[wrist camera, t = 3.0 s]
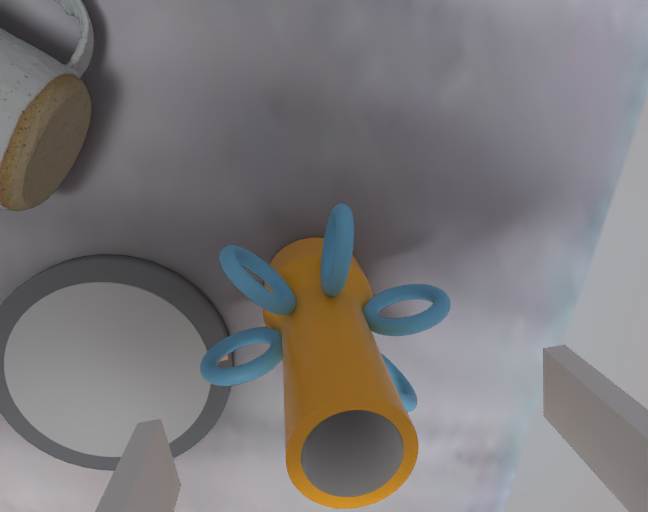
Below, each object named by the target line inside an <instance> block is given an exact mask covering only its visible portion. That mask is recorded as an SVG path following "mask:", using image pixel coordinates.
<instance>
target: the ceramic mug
mask: <svg viewBox="0 0 648 512" xmlns="http://www.w3.org/2000/svg"><path fill="white" fill-rule="evenodd" d="M55 1H56V2H57V3H59V4H60V5H61V6H62V7H63V9H64V11H65V12H66V13H67V14H69V15H72V16H75V17H77V18H78V19H79V22H80V34H81V37H80V39H79V41H78V44H77V47H76V50H75V53H74V54H73V55H72V56H71V60H70V61H69V62H68V63H67V64H61V63H60V62H58V61H57V60H56V59H54V58H53V57H51V56H49V55H48V54H46V53H44V52H43V51H41V50H39V49H37V48H35V47H33V46H32V45H30V44H28V43H26V42H25V41H23V40H21V39H19V38H17V37H15V36H13V35H12V34H10V33H8V32H6V31H5V30H3V29H1V28H0V208H3V209H7V210H14V211H19V210H26V209H29V208H32V207H35V206H37V205H39V204H41V203H42V202H44V201H45V200H46V199H48V198H49V197H50V196H51V195H52V194H53V193H54V192H55V191H56V189H57V188H58V187H59V185H60V184H61V183H62V182H63V180H64V179H65V177H66V176H67V174H68V173H69V171H70V170H71V168H72V166H73V164H74V162H75V160H76V158H77V157H78V155H79V153H80V150H81V148H82V145H83V143H84V141H85V138H86V135H87V131H88V128H89V125H90V119H91V105H92V103H91V99H90V96H89V92H88V90H87V88H86V86H85V83H84V82H83V81H82V80H81V79H80V78H81V76H82V75H83V73H84V72H85V71H86V70H87V68H88V66H89V64H90V60H91V56H92V52H93V48H94V33H93V27H92V23H91V20H90V17H89V15H88V12H87V9H86V7H85V5H84V3H83V2H82V0H55Z"/></svg>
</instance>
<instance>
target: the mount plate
mask: <svg viewBox="0 0 648 512" xmlns="http://www.w3.org/2000/svg"><path fill="white" fill-rule="evenodd" d="M228 336H229V335H228V332H227V329H226V327H225V325H224V323H223V321H222V318H221V317H220V315H219V314H218V312H217V311H216V309H215V307H214V306H213V305H212V303H211V302H210V301H209V300H208V299H207V298H206V297H205V295H204V294H203V293H202V292H201V291H199V290H198V289H197V288H196V287H195V286H194V285H193V284H192V283H190V282H189V281H187V280H186V279H184V278H183V277H181V276H180V275H178V274H177V273H175V272H173V271H171V270H169V269H167V268H165V267H163V266H160V265H158V264H155V263H152V262H150V261H146V260H142V259H138V258H135V257H128V256H121V255H92V256H83V257H79V258H75V259H71V260H67V261H64V262H62V263H59V264H56V265H54V266H52V267H50V268H48V269H46V270H44V271H42V272H40V273H39V274H37V275H36V276H34V277H33V278H31V279H29V280H28V281H27V282H25V283H24V284H23V285H21V286H20V287H19V288H17V289H16V290H15V291H14V292H13V293H12V294H11V295H10V296H9V297H8V298H7V299H6V300H5V301H4V302H3V304H2V305H1V306H0V412H1V414H2V415H3V417H4V418H5V420H6V421H7V422H8V423H9V424H10V425H11V426H12V427H13V428H14V430H15V431H16V432H17V433H19V434H20V435H21V436H22V437H23V438H24V439H26V440H27V441H28V442H29V443H31V444H32V445H34V446H35V447H37V448H38V449H40V450H41V451H43V452H45V453H47V454H49V455H51V456H53V457H55V458H58V459H60V460H63V461H65V462H68V463H71V464H75V465H78V466H82V467H87V468H92V469H98V470H113V471H115V469H116V467H117V465H118V463H119V461H120V459H121V457H122V455H123V452H124V450H125V448H126V446H127V444H128V442H129V440H130V438H131V436H132V434H133V432H134V430H135V427H136V425H137V423H140V422H145V421H150V420H156V419H161V421H162V424H163V427H164V430H165V434H166V437H167V440H168V444H169V447H170V450H171V454H172V457H173V458H174V457H176V456H178V455H180V454H182V453H184V452H185V451H187V450H188V449H190V448H191V447H193V446H194V445H195V444H197V443H198V442H199V441H200V440H201V439H202V438H203V437H205V435H206V434H207V433H208V432H209V431H210V430H211V429H212V427H213V426H214V425H215V423H216V422H217V420H218V419H219V417H220V415H221V413H222V411H223V409H224V407H225V405H226V402H227V398H228V395H229V392H230V386H219V385H214V384H211V383H209V382H207V381H206V380H205V379H204V378H203V377H202V375H201V373H200V364H201V361H202V358H203V357H204V355H205V354H206V353H207V351H208V350H209V349H210V348H212V347H213V346H214V345H215V344H217V343H218V342H220V341H221V340H223V339H225V338H226V337H228ZM217 367H220V368H231V367H233V353H232V352H231V353H229V354H228V355H226V356H225V357H224V358H222V359H221V360H220V362H219V363H218V364H217Z"/></svg>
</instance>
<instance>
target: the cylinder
mask: <svg viewBox="0 0 648 512" xmlns="http://www.w3.org/2000/svg"><path fill="white" fill-rule="evenodd" d="M353 243H354V218H353V213H352V210H351V208H350V207H349V206H348V205H346V204H344V203H340V204H337V205H336V206H334V208H333V209H332V211H331V213H330V215H329V218H328V222H327V226H326V230H325V235H324V238H320V237H310V238H304V239H300V240H297V241H294V242H292V243H290V244H288V245H287V246H285V247H284V248H282V249H281V250H280V251H279V252H278V253H277V254H276V255H275V256H274V258H273V259H272V261H271V262H270V264H269V265H268V264H267V263H266V262H265V261H264V260H262V259H261V258H259V257H258V256H257V255H255V254H254V253H252V252H250V251H248V250H246V249H244V248H242V247H239V246H235V245H229V246H226V247H224V248H223V249H222V250H221V252H220V254H219V262H220V265H221V267H222V269H223V271H224V273H225V274H226V276H227V277H228V278H229V280H230V281H231V282H232V283H233V284H234V285H235V286H236V287H237V288H238V289H239V290H240V291H241V292H242V293H243V294H244V295H245V296H246V297H248V298H249V299H250V300H251V301H253V302H254V303H256V304H257V305H259V306H260V307H262V308H263V317H264V321H265V325H266V327H259V328H252V329H247V330H244V331H241V332H238V333H235V334H233V335H230V336H228V337H226V338H225V339H223V340H221V341H220V342H218V343H217V344H215V345H214V346H213V347H212V348H210V349H209V350H208V351H207V353H206V354H205V355H204V357H203V358H202V361H201V364H200V373H201V375H202V377H203V378H204V379H205V380H206V381H207V382H209V383H211V384H214V385H219V386H231V385H237V384H241V383H245V382H248V381H251V380H253V379H256V378H258V377H260V376H262V375H263V374H265V373H267V372H268V371H270V370H271V369H272V368H274V367H275V366H276V365H277V364H278V363H279V362H280V361H281V360H282V358H283V381H284V414H285V448H286V466H287V471H288V474H289V476H290V479H291V480H292V482H293V484H294V485H295V487H296V488H297V489H298V490H299V491H300V492H301V493H302V494H303V495H305V496H306V497H307V498H309V499H310V500H312V501H314V502H316V503H319V504H321V505H324V506H328V507H333V508H344V509H347V508H358V507H363V506H367V505H370V504H373V503H376V502H378V501H380V500H382V499H384V498H386V497H388V496H389V495H391V494H392V493H393V492H395V491H396V490H397V489H398V488H399V487H400V486H401V485H402V484H403V483H404V482H405V481H406V479H407V478H408V477H409V475H410V474H411V472H412V470H413V468H414V466H415V463H416V460H417V455H418V439H417V434H416V431H415V429H414V426H413V424H412V422H411V420H410V418H409V415H408V413H407V412H409V411H412V410H413V409H414V408H415V407H416V405H417V396H416V394H415V391H414V390H413V388H412V386H411V385H410V383H409V382H408V380H407V379H406V378H405V377H404V375H403V374H402V373H401V372H400V371H399V370H398V369H397V368H396V366H395V365H394V364H393V363H392V362H391V361H389V360H388V359H387V358H386V357H385V356H384V355H383V354H381V353H380V351H379V348H378V346H377V344H376V342H375V339H374V337H373V335H372V332H371V331H373V332H375V333H378V334H382V335H388V336H402V335H410V334H414V333H418V332H421V331H424V330H427V329H429V328H431V327H433V326H435V325H436V324H438V323H439V322H441V321H442V320H443V319H444V318H445V317H446V315H447V314H448V312H449V309H450V299H449V297H448V295H447V294H446V293H445V292H444V291H443V290H441V289H439V288H437V287H434V286H431V285H425V284H410V285H403V286H398V287H394V288H391V289H388V290H385V291H383V292H381V293H379V294H377V295H375V296H374V295H373V291H372V288H371V286H370V283H369V281H368V279H367V278H366V276H365V274H364V272H363V271H362V269H361V267H360V265H359V264H358V262H357V260H356V259H355V257H354V256H353V255H352V253H353ZM243 266H244V267H246V268H248V269H249V270H251V271H252V272H253V273H255V274H256V275H257V276H258V277H260V278H261V279H262V280H263V281H264V286H262V285H261V284H260V283H259V282H258V281H256V280H255V279H254V278H253V277H252V276H251V275H250V274H249V273H248V272H247V271H246V270H245V269H244V267H243ZM411 299H422V300H427V301H430V302H432V303H433V305H432V306H431V307H430V308H429V309H427V310H425V311H424V312H422V313H419V314H416V315H413V316H410V317H405V318H395V319H391V318H383V317H380V316H378V315H377V314H378V313H379V311H380V310H382V309H383V308H385V307H386V306H388V305H391V304H393V303H396V302H399V301H404V300H411ZM254 343H269V344H271V346H270V348H269V349H268V350H267V351H266V352H265V353H264V354H262V355H261V356H260V357H258V358H256V359H254V360H252V361H250V362H248V363H246V364H243V365H240V366H236V367H231V368H220V367H217V364H218V363H219V362H220V360H221V359H222V358H224V357H225V356H226V355H228V354H229V353H231V352H232V351H234V350H236V349H238V348H241V347H243V346H246V345H250V344H254Z"/></svg>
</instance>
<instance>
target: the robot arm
mask: <svg viewBox="0 0 648 512" xmlns="http://www.w3.org/2000/svg"><path fill="white" fill-rule="evenodd" d="M543 397H544V398H543V400H544V417H545V418H546V419H547V420H548V422H549V423H550V424H551V425H552V426H553V427H554V428H555V429H556V430H557V432H558V433H559V434H560V435H561V436H562V437H563V438H564V439H565V441H566V442H567V443H568V444H569V445H570V446H571V447H572V448H573V449H574V451H575V452H576V453H577V454H578V455H579V456H580V457H581V458H582V460H583V461H584V462H585V463H586V464H587V465H588V466H589V467H590V469H591V470H592V471H593V472H594V473H595V474H596V475H597V476H598V478H599V479H600V480H601V481H602V482H603V483H604V484H605V485H606V486H607V488H608V489H609V490H610V491H611V492H612V493H613V494H614V495H615V497H616V498H617V499H618V500H619V501H620V502H621V503H622V504H623V505H624V507H625V508H626V509H627V510H628V511H629V512H648V410H647V409H646V408H645V407H643V406H642V405H641V404H640V403H638V402H637V401H636V400H634V399H633V398H632V397H631V396H629V395H628V394H627V393H625V392H624V391H623V390H622V389H621V388H619V387H618V386H617V385H615V384H614V383H613V382H612V381H610V380H609V379H608V378H606V377H605V376H604V375H603V374H601V373H600V372H599V371H598V370H596V369H595V368H594V367H592V366H591V365H590V364H588V363H587V362H586V361H585V360H583V359H582V358H581V357H580V356H578V355H577V354H576V353H575V352H573V351H572V350H571V349H569V348H568V347H567V346H566V345H560V346H554V347H549V348H543ZM180 487H181V483H180V480H179V477H178V474H177V470H176V467H175V464H174V460H173V457H172V454H171V450H170V447H169V444H168V440H167V437H166V434H165V430H164V427H163V424H162V421H161V419H156V420H150V421H145V422H140V423H137V425H136V427H135V430H134V432H133V434H132V436H131V438H130V440H129V442H128V444H127V446H126V448H125V450H124V452H123V455H122V457H121V459H120V461H119V463H118V465H117V467H116V469H115V471H114V473H113V475H112V477H111V480H110V482H109V484H108V486H107V488H106V490H105V492H104V494H103V496H102V498H101V500H100V502H99V505H98V507H97V509H96V511H95V512H174V508H175V505H176V501H177V497H178V494H179V490H180Z"/></svg>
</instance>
